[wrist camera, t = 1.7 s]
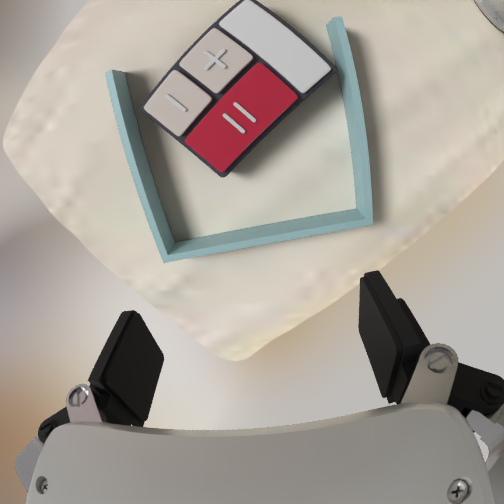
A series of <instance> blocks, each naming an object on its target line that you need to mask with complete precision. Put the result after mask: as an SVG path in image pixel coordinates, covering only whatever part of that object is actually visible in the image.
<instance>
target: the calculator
mask: <svg viewBox="0 0 504 504" xmlns="http://www.w3.org/2000/svg"><path fill="white" fill-rule="evenodd" d="M335 72H336V67H335V66H334V65H333V64H332V63H331V62H330V61H329V60H328V59H327V58H326V57H325V56H324V55H323V54H322V53H321V52H320V51H318V50H317V49H316V48H315V47H314V46H313V45H312V44H311V43H310V42H309V41H307V40H306V39H305V38H304V37H303V36H302V35H301V34H299V33H298V32H297V31H296V30H295V29H293V28H292V27H291V26H290V25H288V24H287V23H286V22H285V21H283V20H282V19H281V18H280V17H278V16H277V15H276V14H274V13H273V12H272V11H270V10H269V9H268V8H266V7H265V6H264V5H262V4H261V3H259V2H258V1H256V0H240V1H238V2H237V3H236V4H235V5H234V6H233V7H231V8H230V9H229V10H228V11H227V12H226V13H225V14H223V15H222V16H221V17H220V18H219V19H218V20H217V21H216V22H215V23H214V24H213V25H212V26H210V27H209V28H208V29H207V30H206V31H205V32H204V33H203V34H202V35H201V36H200V37H199V38H198V39H197V40H196V41H195V42H194V43H193V44H192V46H191V47H190V48H189V49H188V50H187V51H186V52H185V53H184V54H183V55H182V56H181V57H180V59H179V60H178V61H177V62H176V63H175V64H174V65H173V67H172V68H171V69H170V70H169V71H168V72H167V74H166V75H165V76H164V77H163V78H162V80H161V81H160V82H159V83H158V85H157V86H156V87H155V88H154V90H153V91H152V92H151V93H150V95H149V96H148V97H147V99H146V100H145V101H144V103H143V104H142V106H141V111H142V112H143V113H144V114H146V115H147V116H148V117H149V118H151V119H152V120H153V121H154V122H156V123H157V124H158V125H159V126H160V127H162V128H163V129H164V130H165V131H167V132H168V133H169V134H170V135H171V136H173V137H174V138H175V139H176V140H177V141H179V142H180V143H181V144H182V145H184V146H185V147H186V148H187V149H188V150H189V151H191V152H192V153H193V154H194V155H195V156H197V157H198V158H199V159H200V160H201V161H203V162H204V163H205V164H206V165H207V166H208V167H210V168H211V169H212V170H213V171H214V172H215V173H217V174H218V175H219V176H220V177H226V176H227V175H228V174H229V173H230V172H231V171H232V170H233V169H234V168H235V167H236V166H237V165H238V164H239V163H240V161H241V160H242V159H243V158H244V157H245V156H246V155H247V154H248V153H249V152H250V151H251V150H252V149H253V148H254V147H255V146H256V145H257V144H258V143H259V142H260V141H261V140H262V139H263V138H264V137H265V136H266V135H267V134H268V133H269V132H271V131H272V130H273V129H274V128H275V127H276V126H277V125H278V124H279V123H280V122H281V121H282V120H283V119H284V118H285V117H286V116H287V115H288V114H289V113H291V112H292V111H293V110H294V109H295V108H296V107H297V106H298V105H299V104H300V103H301V102H302V101H304V100H305V99H306V98H307V97H308V96H309V95H310V94H311V93H312V92H314V91H315V90H316V89H317V88H318V87H319V86H320V85H322V84H323V83H324V82H325V81H326V80H327V79H328V78H330V77H331V76H332V75H333V74H334V73H335Z"/></svg>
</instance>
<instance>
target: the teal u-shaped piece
mask: <svg viewBox="0 0 504 504" xmlns="http://www.w3.org/2000/svg"><path fill="white" fill-rule="evenodd" d="M326 26H327V30H328V34H329V37H330V41H331V45H332V49H333V53H334V57H335V61H336V66H337V70H338V75H339V80H340V85H341V90H342V95H343V100H344V106H345V112H346V118H347V124H348V131H349V138H350V145H351V153H352V161H353V171H354V181H355V192H356V206H357V209H353V210H347V211H341V212H335V213H329V214H323V215H317V216H311V217H306V218H300V219H294V220H289V221H283V222H278V223H272V224H267V225H261V226H256V227H251V228H245V229H240V230H235V231H230V232H225V233H219V234H214V235H209V236H204V237H199V238H194V239H190V240H185V241H180V242H174V239H173V236H172V233H171V230H170V228H169V225H168V222H167V219H166V216H165V213H164V210H163V207H162V204H161V201H160V198H159V195H158V192H157V189H156V186H155V183H154V179H153V176H152V173H151V170H150V166H149V163H148V160H147V156H146V153H145V150H144V146H143V143H142V139H141V135H140V132H139V128H138V124H137V121H136V117H135V113H134V109H133V105H132V101H131V97H130V93H129V88H128V84H127V80H126V75H125V72H122V71H116V70H110V71H108V72H106V73H105V76H106V80H107V85H108V89H109V94H110V98H111V102H112V106H113V110H114V114H115V118H116V122H117V126H118V130H119V133H120V137H121V140H122V144H123V147H124V151H125V154H126V157H127V161H128V164H129V167H130V170H131V174H132V177H133V180H134V183H135V186H136V189H137V192H138V195H139V198H140V201H141V204H142V207H143V209H144V212H145V215H146V218H147V221H148V223H149V226H150V229H151V231H152V234H153V237H154V239H155V242H156V244H157V247H158V250H159V252H160V255H161V257H162V260H163V262H164V263H165V262H171V261H176V260H182V259H187V258H192V257H198V256H203V255H209V254H214V253H220V252H225V251H231V250H236V249H242V248H247V247H253V246H258V245H264V244H269V243H275V242H280V241H286V240H291V239H297V238H303V237H308V236H314V235H319V234H325V233H331V232H336V231H342V230H348V229H353V228H359V227H365V226H370V225H373V208H372V188H371V174H370V163H369V153H368V144H367V135H366V128H365V121H364V114H363V108H362V101H361V96H360V90H359V85H358V80H357V75H356V70H355V66H354V61H353V57H352V53H351V49H350V45H349V41H348V37H347V33H346V30H345V26H344V23H343V19H342V17H333V18H332V19H331V20H330V21H329V23H328V24H327V25H326Z"/></svg>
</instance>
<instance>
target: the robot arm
mask: <svg viewBox="0 0 504 504" xmlns="http://www.w3.org/2000/svg"><path fill="white" fill-rule="evenodd" d="M474 1H475V2H476V4H477V5H478V7H479V8H480V9H481V11H482V12H483V13H484V15H485V16H486V17H487V18H488V19H489V20H490V21H491V22H492V23H493V24H494V25H495V26H496V27H497V28H498V29H500V30H501V31H503V32H504V0H474ZM359 304H360V305H359V333H360V336H361V339H362V341H363V344H364V346H365V349H366V352H367V355H368V357H369V360H370V363H371V366H372V369H373V372H374V375H375V378H376V381H377V383H378V386H379V389H380V392H381V395H382V397H383V398H385V397H387V400H388V403H393V402H396V404H397V405H392V406H387V407H382V408H378V409H373V410H368V411H364V412H360V413H355V414H351V415H346V416H341V417H336V418H331V419H325V420H319V421H313V422H307V423H301V424H293V425H286V426H277V427H267V428H255V429H239V430H174V429H158V428H146V427H143V425H144V422H145V421H146V420H147V419H148V415H149V411H150V408H151V404H152V400H153V397H154V393H155V390H156V386H157V382H158V379H159V375H160V372H161V369H162V365H163V362H164V355H163V353H162V351H161V350H160V348H159V346H158V345H157V343H156V341H155V340H154V338H153V336H152V334H151V333H150V331H149V329H148V328H147V326H146V324H145V322H144V321H143V319H142V317H141V315H140V314H139V313H137V312H136V311H134V310H132V311H124V312H122V313H121V315H120V317H119V319H118V321H117V322H116V324H115V326H114V328H113V330H112V332H111V334H110V336H109V338H108V340H107V342H106V344H105V346H104V348H103V350H102V352H101V354H100V356H99V358H98V360H97V362H96V364H95V366H94V368H93V370H92V372H91V375H90V377H89V379H88V381H89V382H90V383H91V384H90V386H88V385H86V384H79V385H77V386H75V387H74V388H72V389H71V390H70V392H69V393H68V395H67V397H66V405H67V406H66V407H65V408H63V409H62V410H60V411H59V412H57V413H56V414H54V415H52V416H51V417H49V418H48V419H46V420H45V421H44V422H43V423H42V424H41V425H40V427H39V430H38V437H39V438H37V437H35V438H34V439H33V440H32V441H31V442H30V444H28V445H27V447H26V448H25V449H24V450H23V451H22V452H21V453H20V455H18V457H17V458H16V460H15V470H16V472H17V474H18V476H19V478H20V480H21V481H22V484H23V485H24V487H25V489H26V491H27V492H28V496H27V500H26V504H504V380H503V379H502V378H501V377H500V376H498V375H495V374H492V373H489V372H486V371H483V370H480V369H477V368H473V367H470V366H468V365H465V364H462V363H459V362H458V357H457V354H456V352H455V351H454V350H453V349H452V348H451V347H450V346H448V345H445V344H440V343H436V344H432V345H430V343H429V341H428V340H427V338H426V336H425V334H424V332H423V331H422V329H421V327H420V326H419V324H418V322H417V321H416V319H415V317H414V316H413V314H412V312H411V311H410V309H409V307H408V306H407V304H406V303H405V301H404V300H403V299H402V298H399V299H396V297H395V296H394V294H393V292H392V291H391V289H390V287H389V286H388V284H387V283H386V281H385V280H384V278H383V277H382V275H381V273H380V272H379V271H378V270H377V271H372V272H368V273H365V274H364V277H362V278H360V302H359ZM131 425H132V426H131ZM136 426H137V427H136ZM473 432H476V433H477V434H479V435H480V436H481V438H480V439H481V440H482V441H483V442H485V444H486V445H487V446H488V449H489V456H488V459H487V461H486V462H485V461H484V458H483V455H482V452H481V449H480V447H479V444H478V442H477V440H476V437H475V435H474V433H473Z"/></svg>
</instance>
